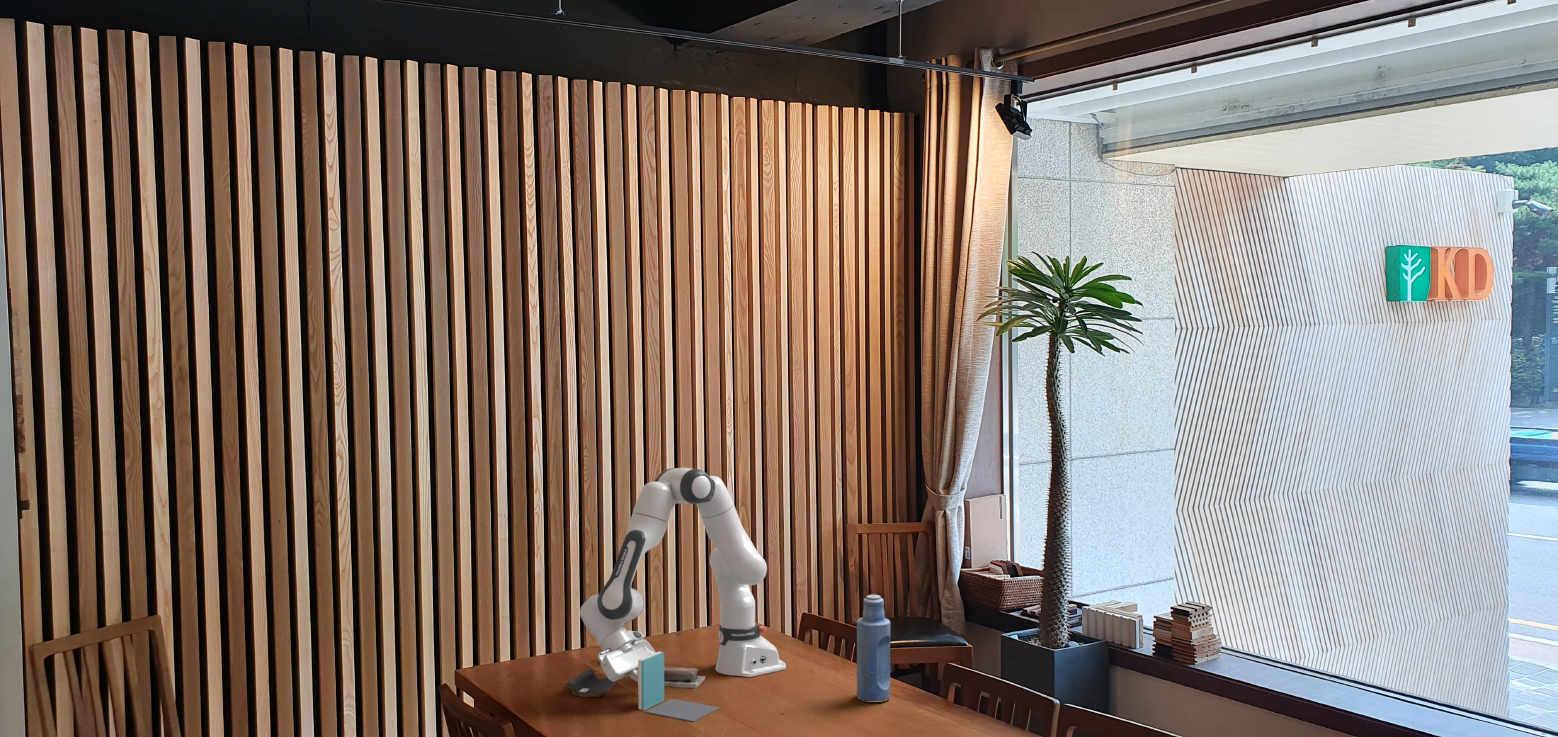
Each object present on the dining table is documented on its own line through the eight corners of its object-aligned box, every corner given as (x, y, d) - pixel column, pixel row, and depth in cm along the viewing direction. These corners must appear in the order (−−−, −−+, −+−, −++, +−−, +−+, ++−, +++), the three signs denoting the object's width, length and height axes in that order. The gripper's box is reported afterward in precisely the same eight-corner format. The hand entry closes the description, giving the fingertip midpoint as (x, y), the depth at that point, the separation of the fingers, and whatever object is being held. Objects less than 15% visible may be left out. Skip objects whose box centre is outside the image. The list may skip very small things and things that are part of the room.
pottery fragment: (599, 699, 319) (599, 685, 319) (561, 696, 322) (561, 681, 322) (618, 684, 333) (618, 670, 333) (582, 681, 336) (582, 667, 336)
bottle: (871, 691, 325) (871, 590, 325) (897, 698, 318) (897, 595, 318) (850, 698, 318) (849, 595, 318) (875, 705, 311) (875, 600, 311)
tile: (638, 709, 309) (638, 659, 309) (659, 699, 318) (658, 651, 318) (643, 710, 309) (643, 660, 308) (664, 700, 317) (664, 652, 317)
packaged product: (639, 670, 332) (650, 661, 342) (639, 686, 332) (650, 676, 342) (696, 673, 328) (705, 664, 338) (696, 689, 328) (705, 680, 338)
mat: (645, 712, 306) (645, 711, 306) (671, 699, 318) (671, 698, 318) (694, 721, 298) (694, 720, 298) (719, 708, 310) (719, 707, 310)
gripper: (601, 646, 309) (629, 686, 304) (644, 630, 327) (672, 667, 322) (589, 660, 311) (616, 699, 306) (633, 643, 329) (659, 680, 324)
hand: (645, 683), depth 314 cm, fingers closed
